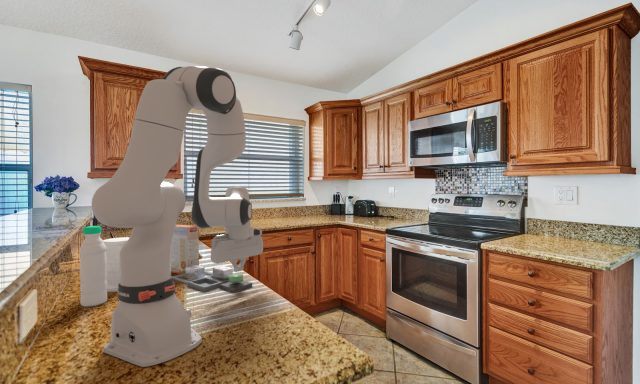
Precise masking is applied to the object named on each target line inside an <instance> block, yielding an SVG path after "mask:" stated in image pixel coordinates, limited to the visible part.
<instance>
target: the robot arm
mask: <svg viewBox="0 0 640 384" xmlns="http://www.w3.org/2000/svg"><path fill="white" fill-rule="evenodd" d="M192 109H193V110H196V111H202V112H203V114H204V116H205V118H206V131H207V132H206V133H207V138H206V139H207V140H206V144H205V146H204V147H203V148H201V149H199V152H198V154H197V157H196V158H197V159H196V165H195V175H194V186H193V188H194V189H193V201H192V207H191V212H190V213H191V214H190V216H191V221H192V222H193V224H194V225H195V226H198V227H199V229H201V230H203V229H210V228H211V229H212V228H224V234H220V235H219V234H217V235H215V236H214V237H213V238H212V239H211V249H210V261H211V262H212V263H214V264H223V263H226V262H230V263H231V265H232V266H233V272H235V273H238V272H241V271H244V266H245V263H246V262H247V258H249V257H254V256H258V255H262V254H263V252H264V240H263V237H262V234H263V231H262V229H261V228H257V227H253V226H251V220H252V218H253V206H252V205H253V204H252V202H250V193H249V190H248V189H247V187H243V186H231V187H228V188H227V189H226V190H225V197H212V196H210V194H209V192H210V182H211V173H212V171H213V170H214V169H216V168H218V167H220V166H223V165H226V164H228V163H231V162H233V161H235V160H236V159H239V157H240V156H242V154H243V153H244V151H245V149H246V141H247V139H246V138H247V136H246V134H247V133H246V124H245V118H244V117H245V116H244V112H243V107H242V103H241V101H240V100H239V98H238V97H237V89H236V86H235V82H234V80H233V78H232V76H231V75H230V74H229V73H228V72H227V71H225V70H223V69H222V68H221V69H220V68H218V67H214V66H213V67H212V66H210V67H207V66H199V65H187V66H177V67H174V68H172V69H169V70H168V71H167V72H166V73H165V74H164V75H163V78H158V79H157V78H156V79H152V80H150V81H147V83H146V84H145V87H143V90H142V93H141V95H140V98H139V100H138V102H137V108H136V111H135V113H134V118H133V124H132V129H131V133H130V134H131V135H130V138H129V143H128V148H127V150H126V153H125V156H124V157H123V159H122V161H121V163H120V165H119V167H118V168H117V169H116V171H115V173H114V174H113V175H112V176H111V178H110V179H108V181H106V182H105V183H104V184H102V185H101V186H99V187H98V188H97V189H96V190H95V192H94V194H93V195H92V198H91V210H92V213H93V216H94V217H95V219H96V220H97V221H98V222H99V223H100V224H101V225H104V226H106V227H111V228H112V227H113V228H122V229H129V228H130V229H131V228H132V230H131V233H130V235H129V237H130V238H129V239H128V241H127V243H126V244H125V245H124V246H123V247H122V249H121V251H120V283H119V284H118V291H117V299H118V300H119V301H118V303H117V306H116V307H115V308H114V309H113V310H112V312H111V321H110V336H109V337H110V340H109V342H108V343H106V344H105V345H104V346H103V350H102V351H103V353H104V354H108V355H110V356H111V357H115V358H117V359H121V360H122V361H125V362H128V363H129V364H133V365H136V366H138V367H140V368H141V367H142V368H146V367H151V366H155V365H158V364H162V363H165V362H167V361H171V360H173V359H176V358H178V357H179V356H180V357H181V356H182V355H184V354H186V353H188V352H190V351H192V350H194V349H195V348H196V347H198V346H199V345H200V344H201V343H202V342H203V338H202V336H201V335H200V334H199V333H198V332H197V331H196V329H194V328H193V327H192V324H191V318H192V310H191V309H190V308H186V309H185V307H184V305H183V302H182V301H180V300H179V298H178V297H177V295H176V288H175V287H176V285H175V281H174V279H173V278H172V277H173V276H172V272H171V244H172V238H173V234H174V230H175V226H176V225H177V222H178V219H179V216H180V215H181V214H182V212H183V211H184V209H185V207H186V204H187V203H186V202H187V201H186V195H185V193H184V190H183V189H182V188H181V187H179V186H178V185H176V184H173V183H171V182H168V181H165V178H166V176H167V174H168V173H169V172H170V170H171V169H172V168H173V167H175V165H176V164H177V163H178V161H179V159H180V153H181V149H182V148H181V147H182V145H183V144H182V142H183V137H184V133H185V128H186V120H187V117H188V114H189V112H190V111H191V110H192ZM238 260H239V264H237V263H238Z"/></svg>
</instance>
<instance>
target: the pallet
mask: <svg viewBox="0 0 640 384" xmlns="http://www.w3.org/2000/svg"><path fill="white" fill-rule="evenodd" d="M188 281H189V280H188ZM227 282H229V280H225V281H221V280H218V279H214V278H213V275H207V276H205V277H204V278H200V279H196V280H192V279H191V280H190V281H189V282H187V284H186V285H187V286H186V287H189V288H192V289H195V290H197V291H201V292H204V293H205V292H209V291H212V290H215V289H220V284H223V283H227Z"/></svg>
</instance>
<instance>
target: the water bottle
mask: <svg viewBox="0 0 640 384" xmlns="http://www.w3.org/2000/svg"><path fill="white" fill-rule="evenodd" d="M102 230H103V229H102V227H101V226H100V225H91V226H89V225H88V226H85V227H84V228H83V229H82V232H83V236H84V240H83V241H82V244H80V247H79V250H78V252H79V278H80V285H79V291H80V298H79V299H80V301H79V302H80V306H82V307H83V308H84V307H85V308H89V307H95V306H99V305H103V304H105V302H107V301H108V292H107V290H106V289H107V281H106V272H107V266H106V253H105V251H106V246H105V244H104V243H103V240H104V239H103V238H101V234H102V232H103V231H102Z"/></svg>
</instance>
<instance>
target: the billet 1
mask: <svg viewBox="0 0 640 384" xmlns="http://www.w3.org/2000/svg"><path fill="white" fill-rule="evenodd" d="M205 269H206V268H205V266H202V265H199V266H198V265H191V266H186V276H185V278H187V279H190V280H191V281H192V280H196V279H200V278H204V277H206V276H205V275H206V274H205V271H206V270H205Z"/></svg>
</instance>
